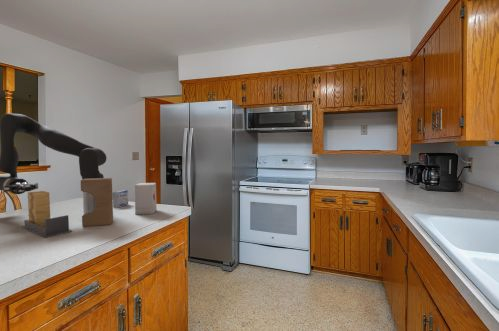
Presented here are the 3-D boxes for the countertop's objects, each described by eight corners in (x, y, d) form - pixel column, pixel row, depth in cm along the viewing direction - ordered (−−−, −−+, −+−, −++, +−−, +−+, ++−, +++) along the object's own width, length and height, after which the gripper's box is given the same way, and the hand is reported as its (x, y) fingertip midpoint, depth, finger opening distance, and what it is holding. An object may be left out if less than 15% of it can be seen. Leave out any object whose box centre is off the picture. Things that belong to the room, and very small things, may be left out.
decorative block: (81, 227, 115) (79, 180, 113) (86, 223, 120) (84, 178, 119) (110, 225, 117) (108, 179, 116) (113, 221, 123) (112, 177, 122)
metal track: (21, 227, 115) (20, 211, 114) (46, 222, 122) (45, 207, 122) (44, 237, 101) (43, 220, 100) (71, 231, 108) (70, 215, 108)
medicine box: (119, 207, 153) (119, 192, 153) (112, 207, 154) (112, 191, 154) (128, 204, 161) (128, 190, 161) (121, 204, 162) (121, 189, 162)
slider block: (29, 225, 115) (27, 192, 114) (43, 222, 119) (41, 190, 118) (36, 228, 110) (34, 194, 110) (50, 225, 115) (49, 192, 114)
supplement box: (153, 214, 137) (152, 184, 136) (134, 214, 136) (134, 185, 135) (157, 210, 146) (156, 182, 145) (139, 210, 145) (138, 182, 144)
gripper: (-4, 178, 124) (9, 181, 114) (32, 176, 135) (46, 179, 125) (-3, 195, 124) (9, 199, 114) (33, 191, 135) (46, 195, 125)
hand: (28, 188), depth 120 cm, fingers closed
